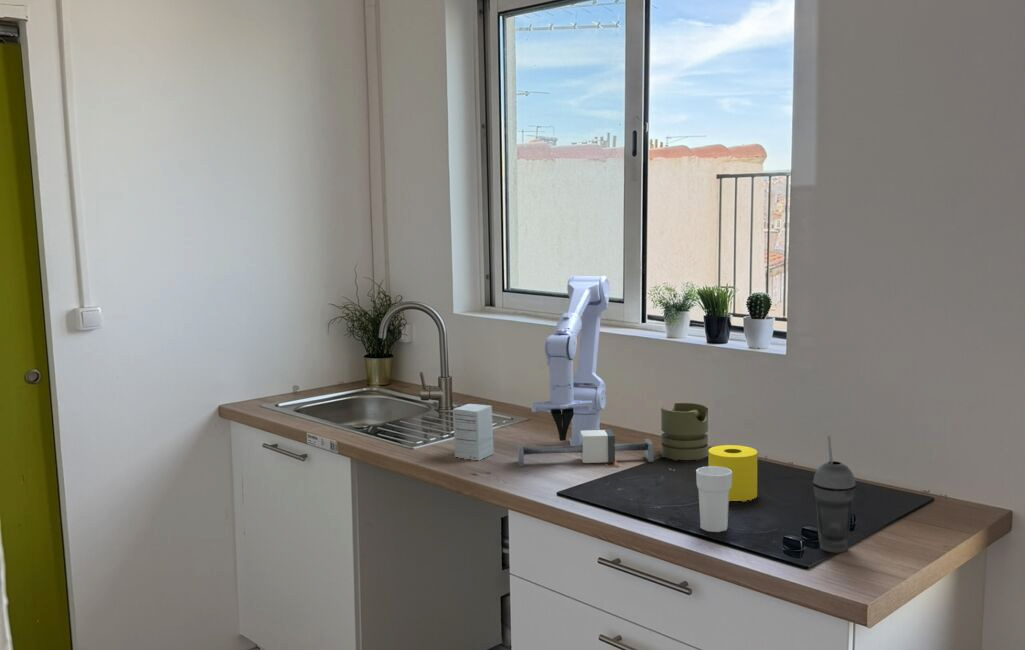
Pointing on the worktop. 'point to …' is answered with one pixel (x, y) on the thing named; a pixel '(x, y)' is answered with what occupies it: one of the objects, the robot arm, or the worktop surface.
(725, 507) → the cup
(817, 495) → the beverage cup
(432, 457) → the worktop surface
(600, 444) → the sleeve
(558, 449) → the pipe rig
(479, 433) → the supplement box
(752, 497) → the yellow toilet paper roll
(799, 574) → the worktop surface
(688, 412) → the piston
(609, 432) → the dark grey flat block
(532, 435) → the worktop surface
